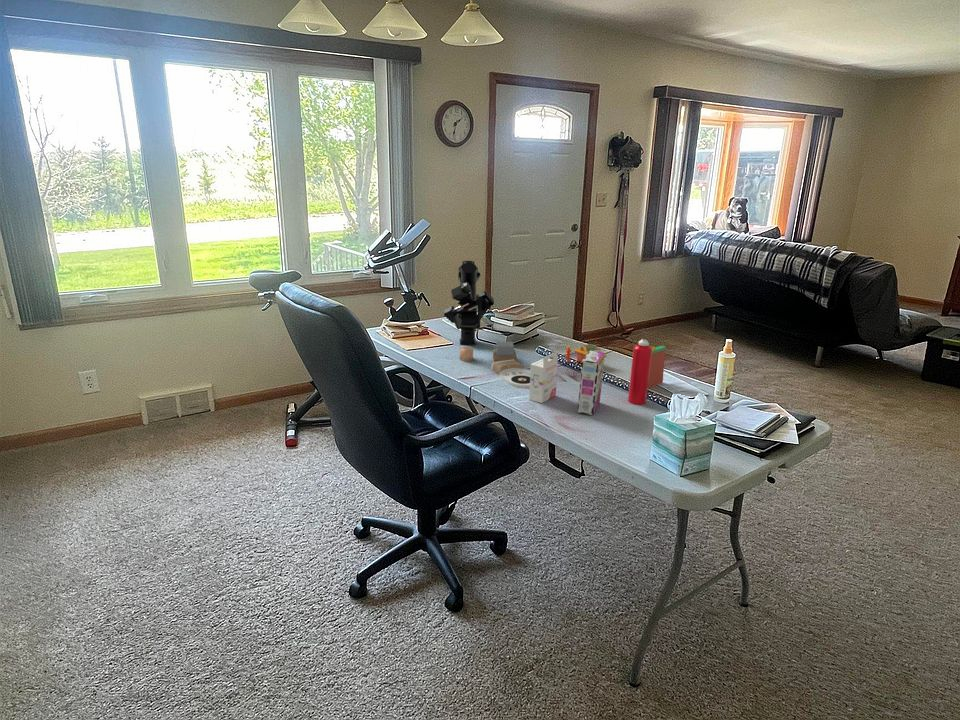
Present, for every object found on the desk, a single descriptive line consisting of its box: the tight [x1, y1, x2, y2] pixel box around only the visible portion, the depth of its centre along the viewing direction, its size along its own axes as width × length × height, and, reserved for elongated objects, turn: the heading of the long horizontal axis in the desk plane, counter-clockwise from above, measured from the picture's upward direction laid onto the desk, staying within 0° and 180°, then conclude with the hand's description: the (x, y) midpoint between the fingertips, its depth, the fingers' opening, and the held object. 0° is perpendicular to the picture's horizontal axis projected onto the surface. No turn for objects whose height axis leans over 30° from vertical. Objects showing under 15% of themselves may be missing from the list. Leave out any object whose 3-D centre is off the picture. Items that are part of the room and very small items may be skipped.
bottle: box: [627, 338, 652, 406], centre depth 175 cm, size 5×6×20 cm
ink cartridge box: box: [528, 351, 559, 404], centre depth 177 cm, size 9×5×15 cm, turn 143°
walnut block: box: [492, 349, 518, 362], centre depth 212 cm, size 8×8×4 cm
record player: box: [491, 359, 530, 389], centre depth 196 cm, size 12×3×20 cm
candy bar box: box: [577, 350, 606, 416], centre depth 170 cm, size 11×5×16 cm, turn 159°
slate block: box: [495, 341, 515, 356], centre depth 210 cm, size 6×6×4 cm
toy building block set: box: [565, 343, 666, 388], centre depth 201 cm, size 12×35×14 cm, turn 39°
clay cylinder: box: [459, 346, 474, 362], centre depth 213 cm, size 5×5×4 cm
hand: (468, 324), depth 205 cm, fingers open, 9 cm apart
